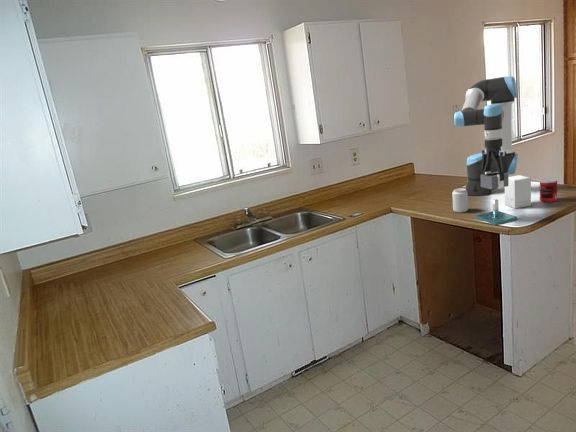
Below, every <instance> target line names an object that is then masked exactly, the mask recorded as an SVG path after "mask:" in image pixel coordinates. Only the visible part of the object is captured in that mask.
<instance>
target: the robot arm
mask: <svg viewBox="0 0 576 432" xmlns="http://www.w3.org/2000/svg"><path fill="white" fill-rule="evenodd" d="M517 89H518V88H517V83H516V79H515V77H514V76H511V75H509V76H501V77H496V78H494V77H493V78H489V79H487V78H486V79H482V80H480V81H477V82H475V83H474V84H472V85H471V86H470V87H469V88H468V89H467V91H466V92H465V100H464V101H465V102H464V103H463V105H462V109H461V110H459V111H456V112H454V115H453V121H454V122H453V123H454V126H455V127H457V128H461V127H462V128H463V127H471V126H472V127H473V126H482V125H483V126H484V128H483V129H484V130H483V131H484V139H485V140H484V148H486V149H483V150H481V152H479V153H475V154H472V155H469V156H468V157H467V158H466V176H467V180H466V185H465V188H464V189H466V191H467V193H468V196H470V197H471V196H473V197H479V196H480V197H481V196H482V197H483V196H487V195H491V194H492V193H493V189H488V188H483V187H481V178H480V175H482V174H487V173H492V172H499V173H498V174H497V175H498V188H497V189H501V188H505V187H504V174H505V173H508V176H510V175H514V174H515V173H516V170H517V164H518V159H519V154H518V153H516V150H515V149H514V148H513V139H512V138H513V137H512V135H513V130H512V129H513V128H512V105H513V103H514V102H515V99H517V98H518V90H517ZM489 101H490V104H489V105H485V106H484V107H483V108H480V105H481V103H482V102H489ZM479 108H480V109H479Z"/></svg>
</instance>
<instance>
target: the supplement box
mask: <svg viewBox="0 0 576 432" xmlns="http://www.w3.org/2000/svg"><path fill="white" fill-rule="evenodd" d="M531 181H532V178H531V177H529V176H524V175H520V174H518V175H513V176H508V185H509V186H506V187H504V205H505V206H507V207H510V208H513V209H520V208H526V207H531V205H532V196H531V195H532V194H531V193H532V192H531V191H532V189H531V186H532V185H531V184H532V182H531Z"/></svg>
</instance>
